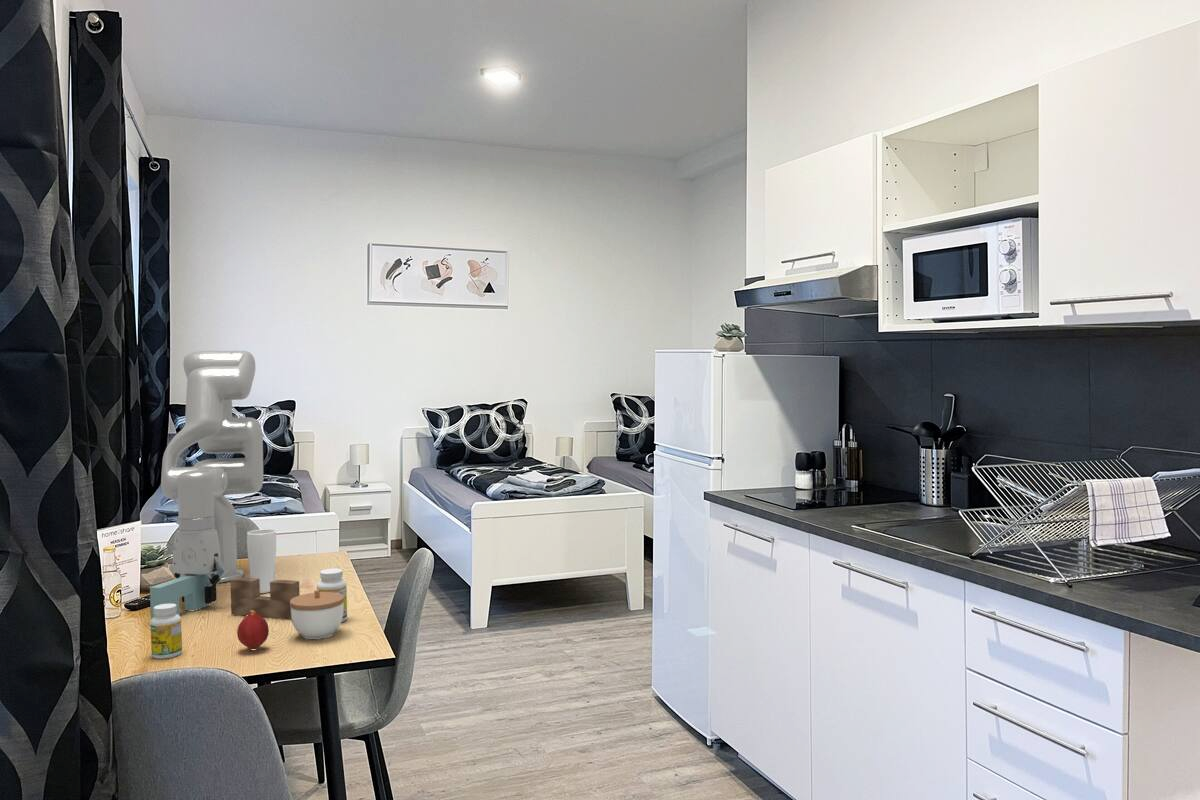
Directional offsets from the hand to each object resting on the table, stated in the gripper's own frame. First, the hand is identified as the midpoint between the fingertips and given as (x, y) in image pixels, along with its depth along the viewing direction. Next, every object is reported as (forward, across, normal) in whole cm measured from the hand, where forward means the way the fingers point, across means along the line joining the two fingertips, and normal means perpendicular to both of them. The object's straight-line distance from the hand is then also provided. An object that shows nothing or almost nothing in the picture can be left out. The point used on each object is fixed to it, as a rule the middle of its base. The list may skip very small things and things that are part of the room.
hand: (199, 600), depth 205 cm
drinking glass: (+2, +6, +16) cm, 17 cm away
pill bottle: (+2, +37, -3) cm, 37 cm away
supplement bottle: (+2, +18, -30) cm, 35 cm away
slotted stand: (+2, +20, -3) cm, 20 cm away
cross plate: (+2, 0, -6) cm, 6 cm away
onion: (+2, +32, -24) cm, 40 cm away
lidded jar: (+2, +40, -13) cm, 42 cm away
